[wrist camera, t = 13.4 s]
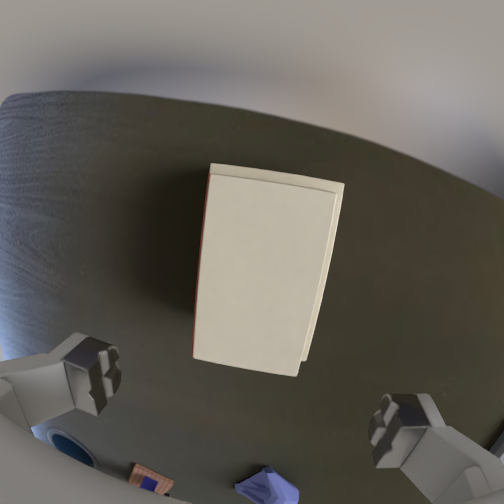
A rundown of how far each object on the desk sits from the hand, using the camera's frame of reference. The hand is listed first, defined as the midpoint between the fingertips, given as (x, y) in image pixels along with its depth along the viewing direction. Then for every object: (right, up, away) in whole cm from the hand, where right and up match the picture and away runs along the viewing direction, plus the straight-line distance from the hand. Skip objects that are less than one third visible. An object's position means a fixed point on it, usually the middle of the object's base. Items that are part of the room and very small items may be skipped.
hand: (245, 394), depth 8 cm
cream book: (+1, +3, +10) cm, 11 cm away
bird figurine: (+2, -24, +22) cm, 33 cm away
